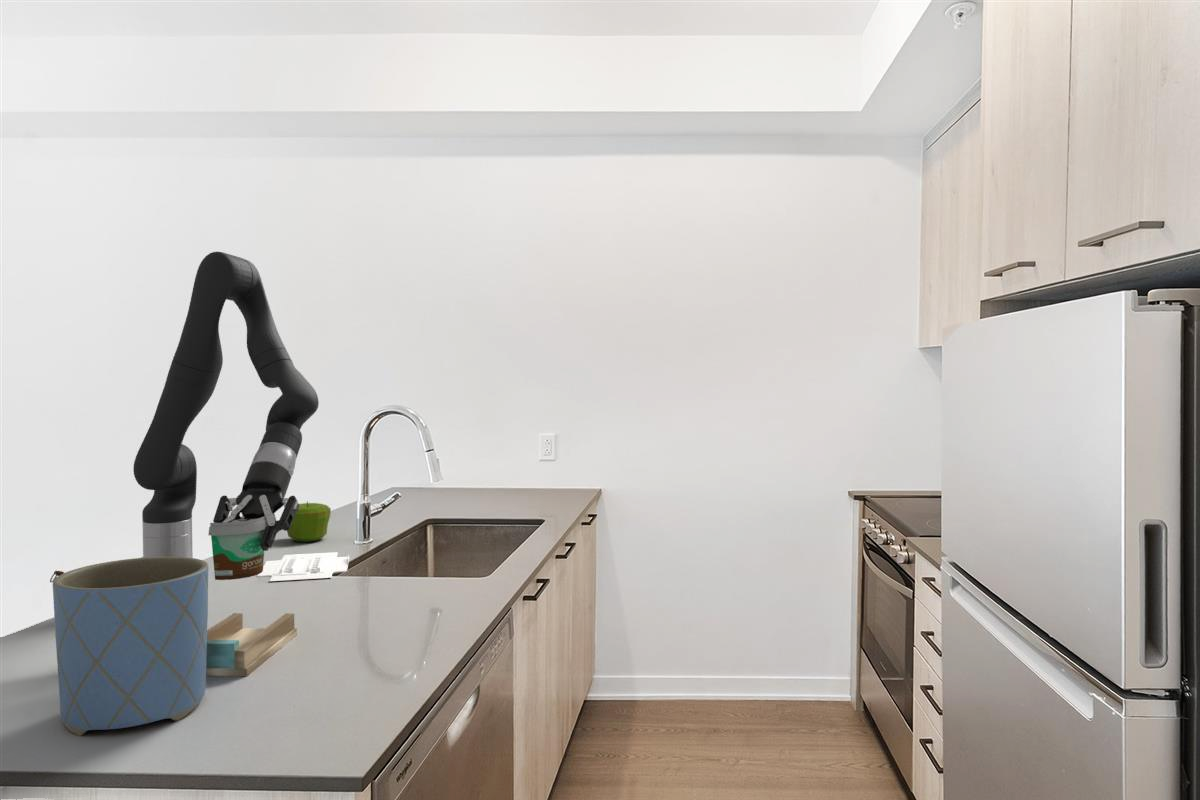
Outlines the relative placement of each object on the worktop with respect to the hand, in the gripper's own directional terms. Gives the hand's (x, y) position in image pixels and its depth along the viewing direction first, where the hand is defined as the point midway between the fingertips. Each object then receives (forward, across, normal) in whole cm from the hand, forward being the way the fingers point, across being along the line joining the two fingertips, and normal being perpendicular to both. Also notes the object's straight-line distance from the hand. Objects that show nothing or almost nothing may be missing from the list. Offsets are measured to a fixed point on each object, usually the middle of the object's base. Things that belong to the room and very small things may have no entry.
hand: (243, 548), depth 138 cm
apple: (-52, -24, +78) cm, 97 cm away
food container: (+3, 0, +5) cm, 5 cm away
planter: (+30, -4, -5) cm, 31 cm away
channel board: (+14, 0, +11) cm, 18 cm away
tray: (-29, -12, +56) cm, 64 cm away
